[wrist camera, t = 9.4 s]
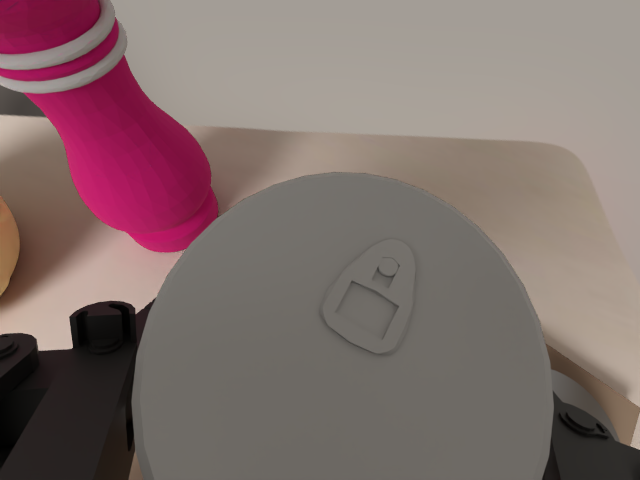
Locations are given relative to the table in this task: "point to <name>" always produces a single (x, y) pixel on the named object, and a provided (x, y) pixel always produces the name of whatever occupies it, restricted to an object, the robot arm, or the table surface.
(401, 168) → the table surface
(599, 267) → the table surface
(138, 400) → the canned food
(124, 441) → the robot arm
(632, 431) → the board
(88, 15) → the pepper mill
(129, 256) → the table surface
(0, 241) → the sculpture
